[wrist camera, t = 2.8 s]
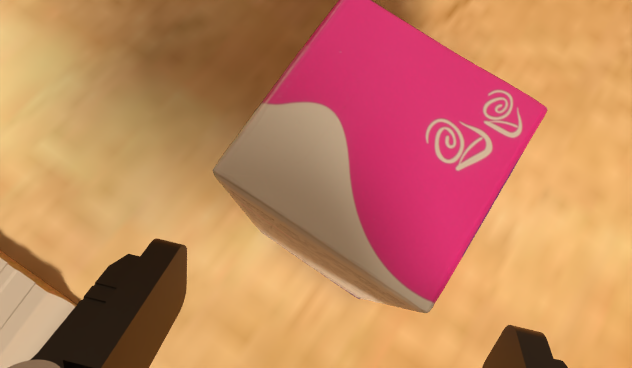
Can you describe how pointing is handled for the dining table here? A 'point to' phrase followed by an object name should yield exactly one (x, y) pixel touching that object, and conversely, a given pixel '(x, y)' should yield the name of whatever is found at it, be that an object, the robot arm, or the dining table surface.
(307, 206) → the supplement box
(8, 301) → the baseboard
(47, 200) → the dining table surface
